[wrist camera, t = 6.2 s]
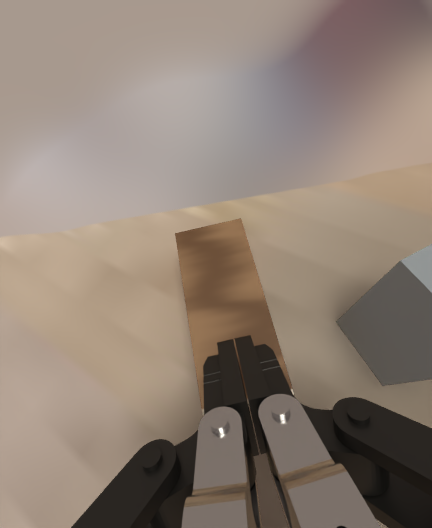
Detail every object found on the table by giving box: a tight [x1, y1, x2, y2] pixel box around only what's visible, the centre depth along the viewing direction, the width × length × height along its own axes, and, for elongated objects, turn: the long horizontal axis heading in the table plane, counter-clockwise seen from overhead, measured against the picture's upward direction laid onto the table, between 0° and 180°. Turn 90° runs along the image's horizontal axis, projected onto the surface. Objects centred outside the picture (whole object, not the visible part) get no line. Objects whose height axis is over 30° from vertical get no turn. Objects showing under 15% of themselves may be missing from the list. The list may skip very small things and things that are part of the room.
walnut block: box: [175, 219, 294, 415], centre depth 19 cm, size 5×5×12 cm
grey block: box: [336, 244, 432, 386], centre depth 15 cm, size 5×5×10 cm
